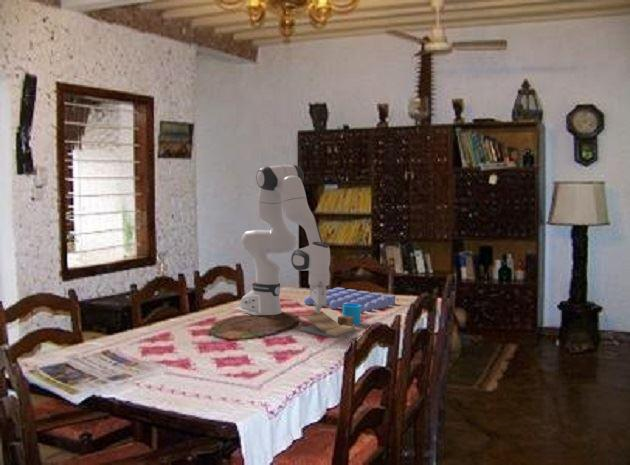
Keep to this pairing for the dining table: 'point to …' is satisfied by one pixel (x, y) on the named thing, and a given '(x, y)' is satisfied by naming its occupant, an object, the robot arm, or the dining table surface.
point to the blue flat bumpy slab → (355, 299)
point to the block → (345, 320)
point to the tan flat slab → (322, 321)
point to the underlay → (330, 333)
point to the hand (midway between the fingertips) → (317, 312)
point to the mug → (353, 312)
